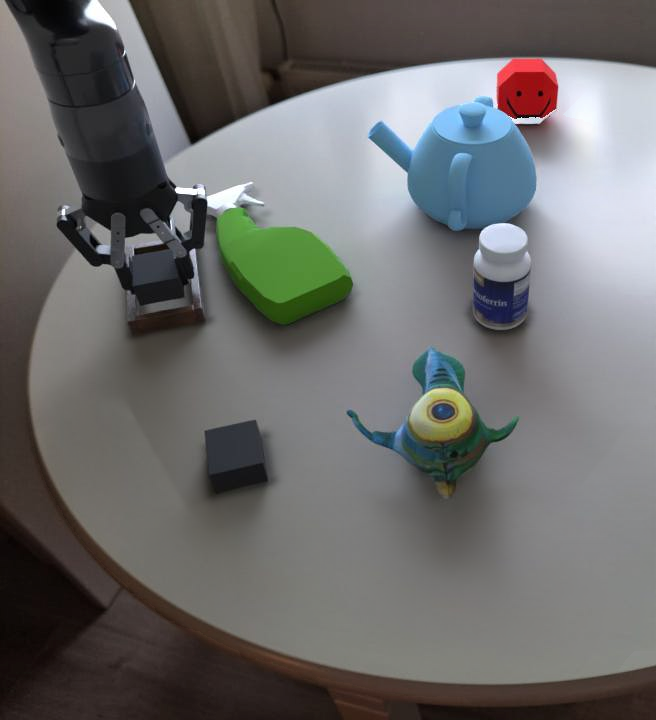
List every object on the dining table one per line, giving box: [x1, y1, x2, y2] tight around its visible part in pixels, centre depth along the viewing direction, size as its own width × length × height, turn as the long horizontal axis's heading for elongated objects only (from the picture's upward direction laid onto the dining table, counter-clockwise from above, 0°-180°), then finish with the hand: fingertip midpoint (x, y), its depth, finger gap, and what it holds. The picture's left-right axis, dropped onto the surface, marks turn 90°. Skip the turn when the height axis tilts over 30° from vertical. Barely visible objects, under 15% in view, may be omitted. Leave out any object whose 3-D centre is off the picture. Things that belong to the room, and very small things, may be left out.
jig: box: [125, 239, 207, 336], centre depth 86 cm, size 7×13×2 cm, turn 18°
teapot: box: [366, 94, 538, 232], centre depth 94 cm, size 20×20×13 cm
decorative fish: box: [346, 346, 520, 499], centre depth 71 cm, size 13×12×6 cm
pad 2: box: [204, 419, 269, 494], centre depth 69 cm, size 4×5×3 cm
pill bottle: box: [472, 222, 532, 331], centre depth 81 cm, size 6×6×10 cm
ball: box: [496, 58, 559, 119], centre depth 110 cm, size 8×8×8 cm
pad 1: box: [132, 249, 186, 306], centre depth 82 cm, size 4×5×3 cm
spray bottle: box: [207, 181, 354, 326], centre depth 90 cm, size 3×11×24 cm
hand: (160, 284), depth 83 cm, fingers closed on pad 1, 4 cm apart
